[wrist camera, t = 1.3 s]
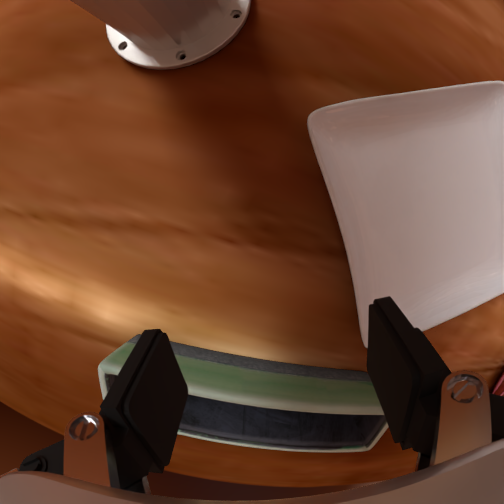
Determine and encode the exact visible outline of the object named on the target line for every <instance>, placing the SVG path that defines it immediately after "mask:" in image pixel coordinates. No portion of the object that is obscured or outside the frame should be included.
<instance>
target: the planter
mask: <svg viewBox="0 0 504 504" xmlns="http://www.w3.org/2000/svg"><path fill="white" fill-rule="evenodd" d="M140 336H141V335H140V334H138V335H136V336H135V337H133V338H132V339H130V340H129V341H128V342H126V343H125V344H123V345H122V346H121V347H119V348H118V349H117V350H115V351H114V352H113V353H111V354H110V355H109V356H108V357H106V358H105V359H104V360H103V361H102V362H101V363H100V364H99V366H98V374H99V380H100V386H101V391H102V396H103V400H104V398H105V397H106V395H107V393H108V391H109V389H110V388H111V386H112V384H113V382H114V381H115V379H116V377H117V375H118V374H119V372H120V370H121V368H122V367H123V365H124V363H125V362H126V360H127V358H128V356H129V355H130V353H131V351H132V350H133V348H134V346H135V345H136V343H137V341H138V340H139V338H140ZM170 344H171V346H172V349H173V352H174V354H175V357H176V359H177V362H178V364H179V367H180V369H181V372H182V374H183V377H184V379H185V382H186V384H187V387H188V398H187V401H186V405H185V408H184V412H183V415H182V419H181V422H180V426H179V430H178V433H177V434H180V435H184V436H189V437H193V438H198V439H203V440H208V441H214V442H219V443H225V444H231V445H238V446H245V447H253V448H262V449H272V450H284V451H299V452H362V451H368V450H370V449H371V448H372V447H373V446H374V445H375V444H376V443H377V441H378V440H379V439H380V438H381V436H382V435H383V434H384V432H385V431H386V430H387V428H388V427H389V426H388V423H387V421H386V418H385V415H384V413H383V410H382V407H381V405H380V402H379V399H378V397H377V394H376V392H375V389H374V387H373V384H372V381H371V379H370V376H369V374H368V373H367V372H363V371H354V370H343V369H333V368H323V367H314V366H306V365H298V364H291V363H283V362H276V361H270V360H263V359H257V358H251V357H245V356H239V355H234V354H228V353H223V352H218V351H213V350H208V349H203V348H198V347H194V346H189V345H185V344H180V343H176V342H171V341H170Z"/></svg>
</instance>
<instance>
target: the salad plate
mask: <svg viewBox="0 0 504 504" xmlns="http://www.w3.org/2000/svg"><path fill="white" fill-rule="evenodd" d="M307 127H308V131H309V136H310V139H311V142H312V145H313V148H314V152H315V155H316V158H317V161H318V164H319V166H320V169H321V172H322V175H323V178H324V181H325V183H326V186H327V189H328V192H329V195H330V198H331V201H332V204H333V207H334V210H335V214H336V217H337V220H338V224H339V227H340V231H341V234H342V237H343V241H344V245H345V249H346V253H347V258H348V262H349V267H350V271H351V276H352V281H353V286H354V292H355V298H356V305H357V312H358V319H359V326H360V332H361V337H362V341H363V344H364V346H365V347H366V348H367V349H368V311H369V305H370V304H373V301H374V299H378V298H383V297H388V296H390V297H391V298H392V299H393V300H394V302H395V303H396V304H397V306H398V307H399V308H400V310H401V311H402V312H403V314H404V315H405V316H406V318H407V319H408V320H409V322H410V323H411V324H412V326H413V327H414V328H416V327H417V328H419V329H420V330H421V331H422V332H423V331H425V330H427V329H430V328H432V327H434V326H437V325H439V324H441V323H443V322H446V321H448V320H450V319H452V318H454V317H456V316H458V315H461V314H463V313H465V312H467V311H469V310H471V309H473V308H475V307H477V306H479V305H481V304H483V303H485V302H487V301H489V300H491V299H493V298H495V297H497V296H499V295H501V294H503V293H504V82H503V81H486V82H477V83H470V84H462V85H455V86H447V87H440V88H433V89H426V90H419V91H412V92H406V93H398V94H391V95H383V96H375V97H368V98H362V99H356V100H350V101H345V102H341V103H337V104H333V105H329V106H326V107H322V108H320V109H317V110H315V111H313V112H312V113H311V114H310V115H309V116H308V120H307Z"/></svg>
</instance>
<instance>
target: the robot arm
mask: <svg viewBox="0 0 504 504" xmlns="http://www.w3.org/2000/svg"><path fill="white" fill-rule="evenodd" d="M71 1H72V2H74V3H75V4H77V5H79V6H80V7H82V8H83V9H85V10H86V11H88V12H89V13H91V14H93V15H94V16H96V17H97V18H99V19H100V20H102V21H103V22H105V23H106V32H107V37H108V40H109V42H110V44H111V46H112V48H113V49H114V50H115V51H116V52H117V54H118V55H120V56H121V57H122V58H124V59H125V60H127V61H128V62H130V63H132V64H134V65H136V66H140V67H143V68H147V69H155V70H167V69H177V68H181V67H185V66H189V65H192V64H195V63H197V62H200V61H203V60H205V59H206V58H208V57H210V56H212V55H214V54H215V53H217V52H218V51H220V50H221V49H222V48H224V47H225V46H226V45H228V44H229V43H230V42H231V41H232V40H233V38H234V37H235V36H236V35H237V34H238V33H239V31H240V30H241V28H242V27H243V25H244V24H245V22H246V19H247V17H248V15H249V12H250V5H251V0H71ZM236 16H239V18H234V17H236ZM125 48H126V49H125ZM183 56H186V57H185V59H183V60H181V58H182V57H183ZM367 370H368V374H369V376H370V379H371V381H372V384H373V387H374V389H375V392H376V394H377V397H378V399H379V402H380V405H381V407H382V410H383V413H384V415H385V418H386V421H387V423H388V426H389V429H390V432H391V434H392V437H393V440H394V442H395V443H399V442H400V444H401V447H402V450H405V449H408V448H411V447H412V448H413V450H414V451H417V452H419V453H418V458H417V463H416V468H415V472H413V473H410V474H407V475H404V476H400V477H397V478H394V479H390V480H387V481H383V482H380V483H376V484H372V485H368V486H363V487H359V488H355V489H350V490H345V491H340V492H334V493H328V494H322V495H315V496H307V497H299V498H289V499H277V500H261V501H210V500H209V501H208V500H193V499H181V498H172V497H164V496H156V495H151V492H150V488H149V484H148V481H147V477H146V476H147V475H148V473H149V472H154V473H163V470H164V466H167V465H168V464H169V462H170V459H171V455H172V451H173V448H174V444H175V441H176V437H177V433H178V430H179V426H180V422H181V419H182V415H183V412H184V408H185V405H186V401H187V398H188V387H187V384H186V382H185V379H184V377H183V374H182V372H181V369H180V367H179V364H178V362H177V359H176V357H175V354H174V352H173V349H172V346H171V344H170V341H169V338H168V336H167V334H166V333H162V331H161V330H160V329H152V330H144V332H143V333H142V335H141V336H140V338H139V340H138V341H137V343H136V345H135V346H134V348H133V350H132V351H131V353H130V355H129V356H128V358H127V360H126V362H125V363H124V365H123V367H122V368H121V370H120V372H119V374H118V375H117V377H116V379H115V381H114V382H113V384H112V386H111V388H110V389H109V391H108V393H107V395H106V397H105V398H104V400H103V402H102V404H101V406H100V408H101V411H100V413H99V414H97V413H95V412H84V413H81V414H78V415H77V416H75V417H73V418H72V419H71V420H70V421H69V423H68V424H67V426H66V429H65V439H64V440H62V441H60V442H57V443H55V444H53V445H51V446H49V447H46V448H44V449H42V450H40V451H37V452H35V453H33V454H31V455H29V456H28V457H26V458H25V459H24V460H23V462H22V464H21V465H20V470H19V469H18V468H16V469H14V470H11V471H10V472H7V473H5V474H3V475H1V476H0V504H504V396H500V395H496V394H491V393H489V389H488V385H487V382H486V381H485V379H484V378H483V377H482V376H481V375H479V374H478V373H475V372H473V371H467V370H463V371H457V372H454V373H451V371H450V370H449V369H448V367H447V366H446V364H445V363H444V361H443V360H442V359H441V357H440V356H439V354H438V353H437V352H436V350H435V349H434V347H433V346H432V345H431V343H430V342H429V340H428V339H427V338H426V336H425V335H424V334H423V332H422V331H421V330H420V329H419V328H417V327H416V328H414V327H413V326H412V324H411V323H410V322H409V320H408V319H407V318H406V316H405V315H404V314H403V312H402V311H401V310H400V308H399V307H398V306H397V304H396V303H395V302H394V300H393V299H392V298H391V297H390V296H388V297H383V298H378V299H374V301H373V304H370V305H369V311H368V350H367Z"/></svg>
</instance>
